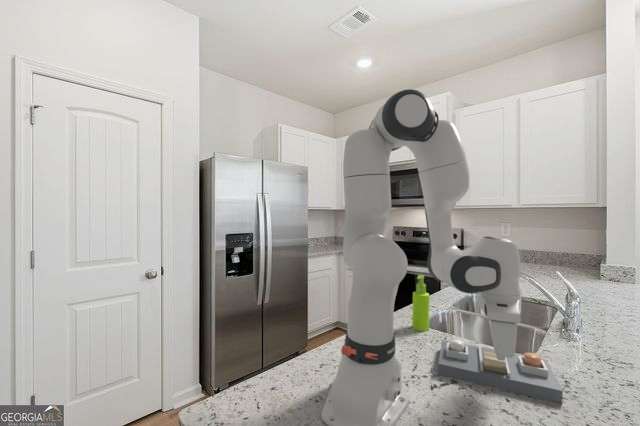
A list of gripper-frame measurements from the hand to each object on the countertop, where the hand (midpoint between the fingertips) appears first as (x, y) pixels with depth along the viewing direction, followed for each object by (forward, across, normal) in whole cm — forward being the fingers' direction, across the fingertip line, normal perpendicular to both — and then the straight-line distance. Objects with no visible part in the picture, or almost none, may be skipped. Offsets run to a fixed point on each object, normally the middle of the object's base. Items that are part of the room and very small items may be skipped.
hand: (500, 357), depth 74 cm
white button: (+4, -9, -10) cm, 14 cm away
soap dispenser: (+9, -31, -23) cm, 40 cm away
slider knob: (+5, -5, -1) cm, 7 cm away
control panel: (+9, -9, -1) cm, 12 cm away
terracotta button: (+5, -9, +8) cm, 13 cm away
